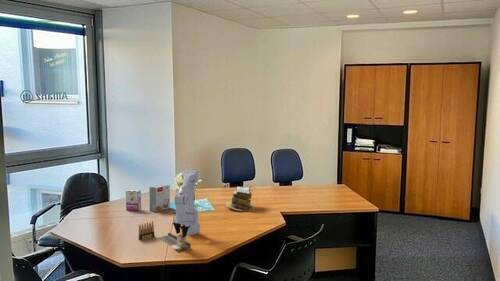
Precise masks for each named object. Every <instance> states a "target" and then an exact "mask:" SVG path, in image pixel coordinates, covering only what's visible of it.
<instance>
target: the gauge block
mask: <svg viewBox="0 0 500 281" xmlns="http://www.w3.org/2000/svg"><path fill="white" fill-rule="evenodd" d="M176 236H177V245H178V246H180V247H182V246H185V245H186V242H187V236H186V237H183V236H182V234H179V235H178V234H177V235H176Z"/></svg>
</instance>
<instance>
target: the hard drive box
mask: <svg viewBox="0 0 500 281" xmlns="http://www.w3.org/2000/svg"><path fill="white" fill-rule="evenodd" d="M170 186H171V185H170V184H167V183H161V184H155V185H150V186H149V191H148V192H149V211H150V212H154V213H156V212H158V213H159V212H161V211H165V210H168V209H170V208H171V204H170V203H171V201H170V200H171V191H170V190H171V187H170Z"/></svg>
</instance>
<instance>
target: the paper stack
mask: <svg viewBox="0 0 500 281" xmlns="http://www.w3.org/2000/svg"><path fill="white" fill-rule="evenodd" d="M235 189H236V190H235ZM235 189H234V190H233V194H232V198H231V200H229V201H226V202H225V205H226V206H227V207H228V208H230V209H233V210H235V211H241V212H251V211H255V210H256V206H255V205H254V204H252V203H251V201H252V200H251V199H252V192H251V188H250V187H249V186H248V187H243V186H237V187H236V188H235Z"/></svg>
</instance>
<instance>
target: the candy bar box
mask: <svg viewBox="0 0 500 281" xmlns="http://www.w3.org/2000/svg"><path fill="white" fill-rule="evenodd" d="M125 202H126V203H125V204H126V205H125V206H126V211H130V210H132V211H131V212H133V211H134V212H139V211H141V210H142V191H141V189H127V190H125Z"/></svg>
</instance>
